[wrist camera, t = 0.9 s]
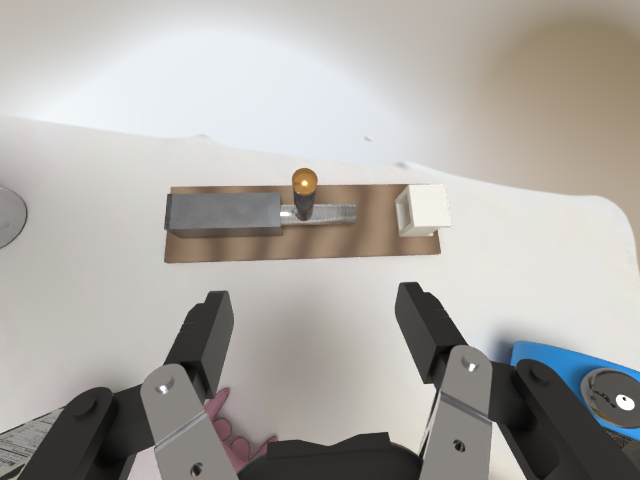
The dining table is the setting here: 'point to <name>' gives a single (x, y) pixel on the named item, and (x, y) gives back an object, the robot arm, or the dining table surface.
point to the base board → (311, 229)
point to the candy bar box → (23, 444)
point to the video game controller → (239, 447)
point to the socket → (422, 210)
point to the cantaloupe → (633, 452)
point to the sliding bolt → (305, 207)
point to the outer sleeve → (224, 215)
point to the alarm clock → (593, 385)
